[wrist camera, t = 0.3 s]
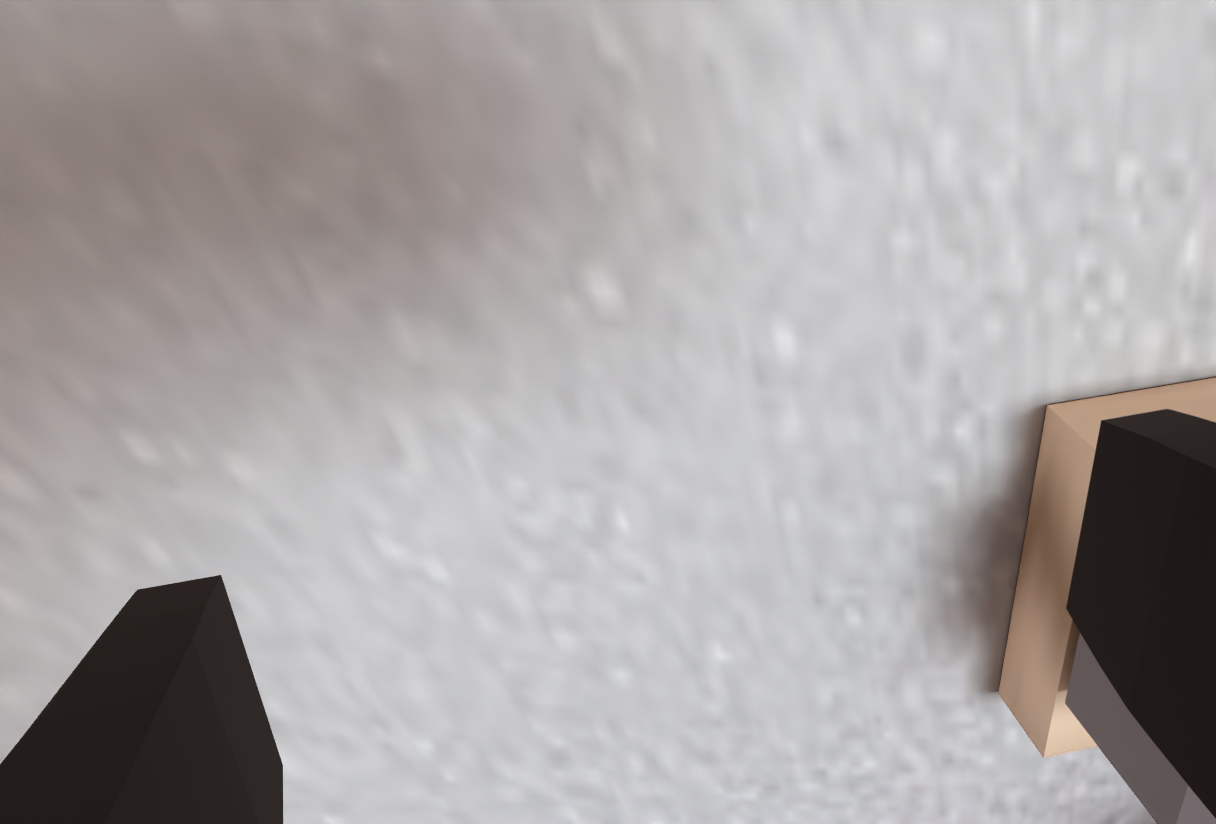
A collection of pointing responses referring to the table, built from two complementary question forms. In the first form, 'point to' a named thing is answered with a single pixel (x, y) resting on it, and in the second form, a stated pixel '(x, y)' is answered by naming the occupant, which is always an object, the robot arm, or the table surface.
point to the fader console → (1066, 558)
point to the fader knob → (1129, 745)
